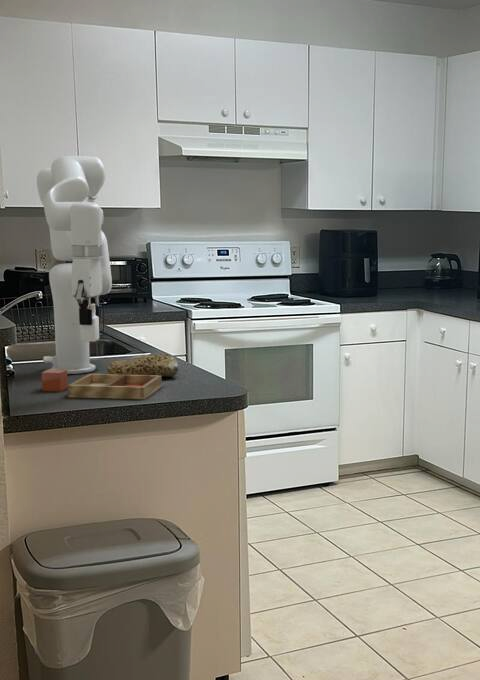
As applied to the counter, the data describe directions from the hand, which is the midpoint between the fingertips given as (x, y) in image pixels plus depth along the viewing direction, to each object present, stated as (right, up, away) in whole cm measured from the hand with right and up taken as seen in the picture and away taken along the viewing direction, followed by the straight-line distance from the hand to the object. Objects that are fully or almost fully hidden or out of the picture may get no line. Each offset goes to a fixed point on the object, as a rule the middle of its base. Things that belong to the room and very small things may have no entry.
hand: (89, 322), depth 232 cm
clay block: (-11, -18, +8) cm, 22 cm away
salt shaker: (0, -5, +1) cm, 5 cm away
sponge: (+9, -16, +22) cm, 28 cm away
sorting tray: (+6, -18, +5) cm, 20 cm away
